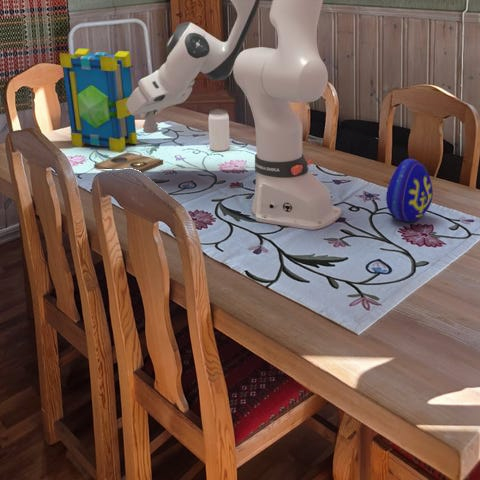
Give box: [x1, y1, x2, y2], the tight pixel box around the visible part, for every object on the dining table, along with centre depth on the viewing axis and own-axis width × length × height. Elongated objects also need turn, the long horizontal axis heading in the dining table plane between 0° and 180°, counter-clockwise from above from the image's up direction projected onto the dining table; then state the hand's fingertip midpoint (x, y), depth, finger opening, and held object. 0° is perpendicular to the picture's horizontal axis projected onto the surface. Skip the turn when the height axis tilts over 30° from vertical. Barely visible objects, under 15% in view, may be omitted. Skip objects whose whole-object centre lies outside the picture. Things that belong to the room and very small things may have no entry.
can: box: [207, 109, 231, 153], centre depth 217 cm, size 6×6×12 cm
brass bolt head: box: [133, 162, 143, 166], centre depth 203 cm, size 3×3×1 cm
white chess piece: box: [142, 111, 159, 134], centre depth 193 cm, size 4×4×8 cm
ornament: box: [385, 158, 434, 223], centre depth 161 cm, size 11×9×15 cm
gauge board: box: [93, 152, 164, 173], centre depth 206 cm, size 15×14×1 cm
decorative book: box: [58, 47, 138, 153], centre depth 221 cm, size 14×23×30 cm, turn 62°
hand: (148, 114), depth 193 cm, fingers closed on white chess piece, 3 cm apart
